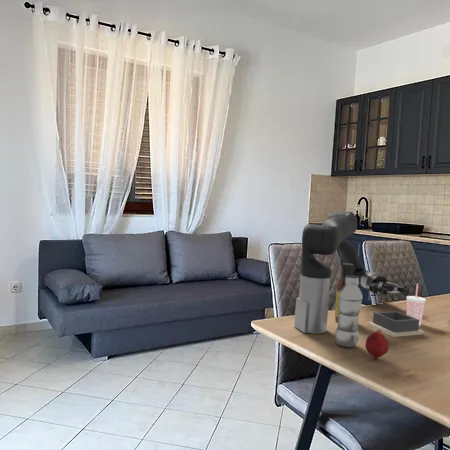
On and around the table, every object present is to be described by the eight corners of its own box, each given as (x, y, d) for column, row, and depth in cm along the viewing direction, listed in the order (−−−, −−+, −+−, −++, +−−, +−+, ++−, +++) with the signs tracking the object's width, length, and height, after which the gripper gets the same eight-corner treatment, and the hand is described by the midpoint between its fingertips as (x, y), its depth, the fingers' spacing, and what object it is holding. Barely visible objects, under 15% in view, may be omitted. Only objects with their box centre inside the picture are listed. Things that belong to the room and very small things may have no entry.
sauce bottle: (355, 325, 145) (360, 266, 144) (336, 323, 145) (341, 265, 144) (350, 319, 152) (355, 262, 150) (332, 317, 152) (336, 261, 150)
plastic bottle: (329, 342, 126) (335, 275, 125) (348, 340, 129) (353, 274, 127) (343, 351, 121) (349, 280, 119) (363, 348, 123) (369, 279, 122)
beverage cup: (403, 324, 149) (407, 284, 148) (404, 319, 155) (408, 280, 154) (423, 327, 147) (427, 286, 146) (423, 322, 152) (427, 283, 151)
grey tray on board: (393, 337, 135) (394, 322, 135) (367, 324, 146) (368, 311, 146) (423, 334, 139) (424, 320, 139) (395, 322, 151) (397, 309, 150)
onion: (375, 364, 112) (378, 334, 112) (359, 356, 118) (362, 327, 117) (391, 361, 115) (394, 331, 114) (375, 353, 120) (377, 325, 120)
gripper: (358, 273, 175) (380, 282, 159) (390, 274, 178) (415, 283, 162) (357, 291, 176) (378, 302, 160) (389, 292, 179) (413, 302, 163)
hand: (397, 292), depth 161 cm, fingers open, 8 cm apart
